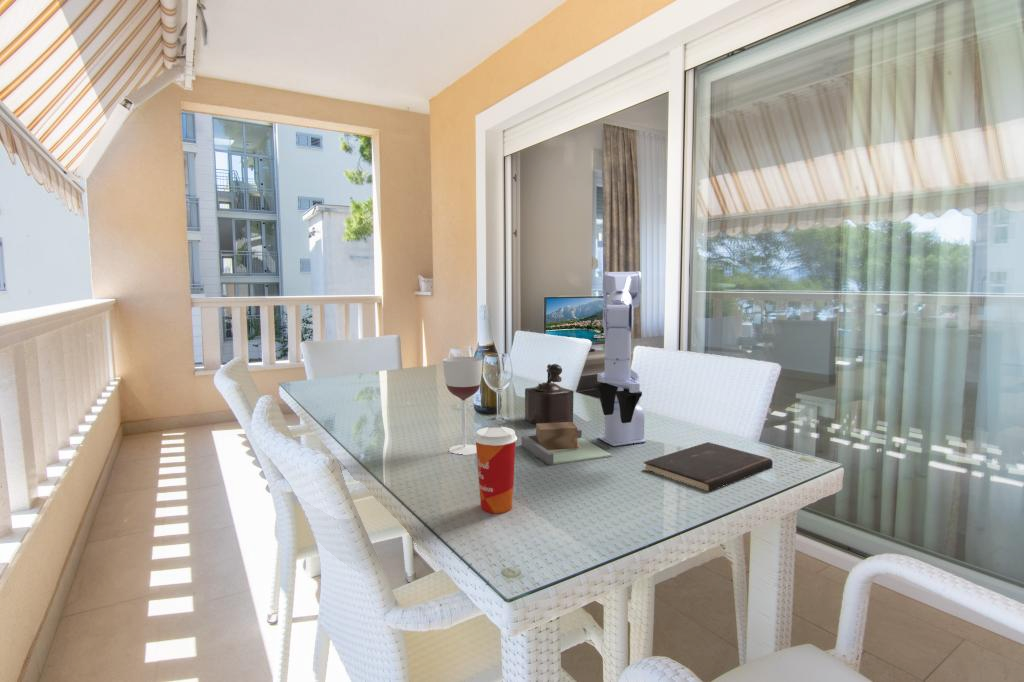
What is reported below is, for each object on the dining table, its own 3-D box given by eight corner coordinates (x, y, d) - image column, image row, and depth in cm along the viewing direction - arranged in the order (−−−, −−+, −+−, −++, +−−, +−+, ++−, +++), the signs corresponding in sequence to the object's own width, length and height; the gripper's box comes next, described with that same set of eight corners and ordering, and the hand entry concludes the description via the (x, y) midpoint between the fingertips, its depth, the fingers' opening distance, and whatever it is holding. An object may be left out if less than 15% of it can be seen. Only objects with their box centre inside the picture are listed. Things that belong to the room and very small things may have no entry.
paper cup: (474, 499, 103) (473, 426, 101) (515, 498, 104) (515, 425, 102) (475, 517, 95) (474, 438, 94) (520, 515, 96) (519, 437, 94)
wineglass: (469, 457, 127) (468, 363, 125) (437, 451, 132) (435, 360, 130) (491, 447, 135) (489, 358, 132) (459, 442, 140) (457, 355, 137)
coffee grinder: (521, 420, 161) (521, 358, 159) (553, 415, 166) (552, 355, 164) (553, 432, 148) (552, 365, 146) (585, 426, 153) (585, 362, 151)
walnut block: (540, 450, 130) (539, 429, 130) (536, 443, 136) (535, 423, 135) (577, 448, 131) (577, 427, 131) (572, 441, 137) (572, 421, 136)
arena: (579, 437, 142) (579, 428, 142) (611, 456, 127) (612, 446, 127) (521, 445, 136) (521, 435, 136) (548, 465, 122) (548, 454, 121)
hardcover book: (643, 472, 118) (643, 461, 118) (707, 451, 132) (707, 441, 132) (709, 495, 106) (709, 483, 105) (772, 469, 119) (773, 459, 119)
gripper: (586, 355, 128) (585, 412, 130) (619, 364, 115) (618, 428, 116) (612, 353, 131) (611, 410, 132) (648, 362, 117) (647, 424, 119)
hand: (617, 418), depth 124 cm, fingers open, 7 cm apart
